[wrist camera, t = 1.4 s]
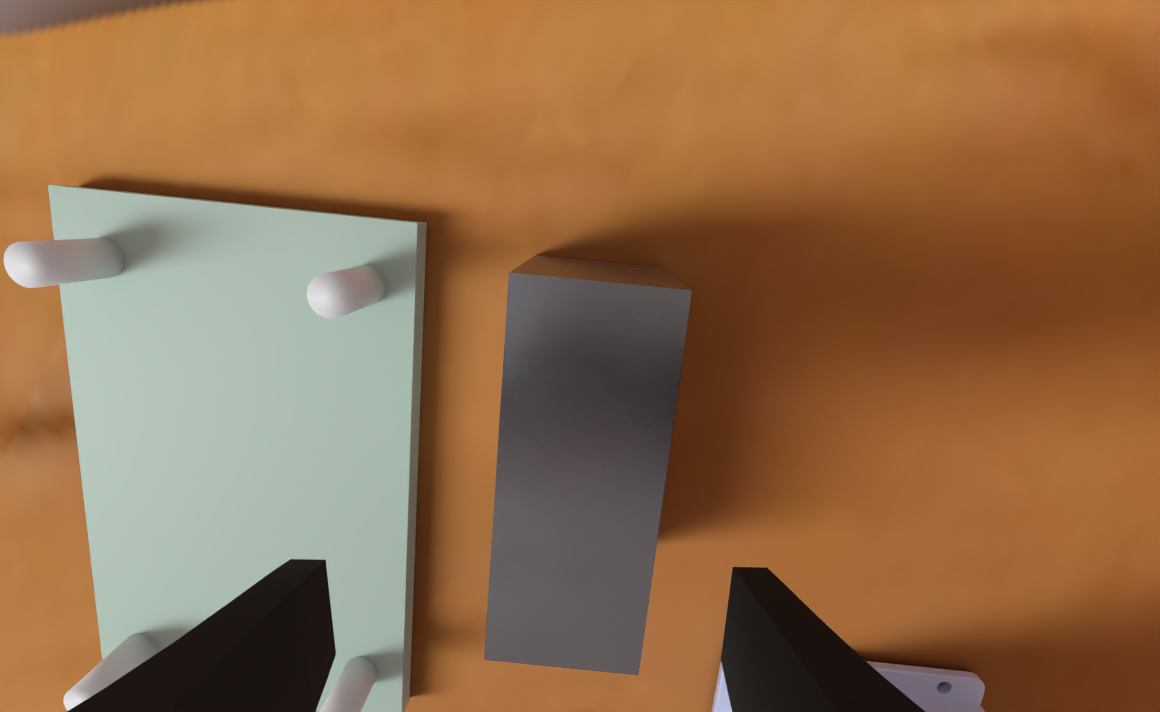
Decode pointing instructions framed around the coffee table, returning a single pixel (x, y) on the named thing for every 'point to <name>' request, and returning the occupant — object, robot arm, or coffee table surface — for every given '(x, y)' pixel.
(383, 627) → the pin tray
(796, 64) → the coffee table surface
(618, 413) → the block
